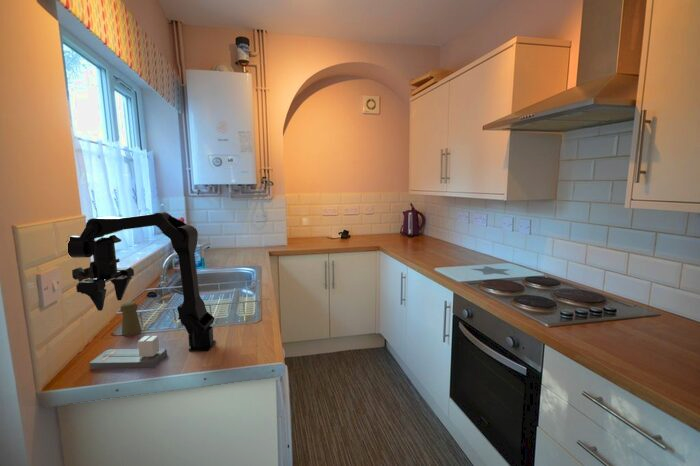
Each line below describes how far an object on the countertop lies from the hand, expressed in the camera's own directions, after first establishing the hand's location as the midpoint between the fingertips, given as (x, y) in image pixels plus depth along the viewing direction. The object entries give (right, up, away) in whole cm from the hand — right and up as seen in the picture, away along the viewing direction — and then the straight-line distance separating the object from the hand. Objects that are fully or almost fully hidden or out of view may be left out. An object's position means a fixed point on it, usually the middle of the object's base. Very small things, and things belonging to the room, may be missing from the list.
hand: (110, 305), depth 111 cm
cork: (-2, -13, +14) cm, 19 cm away
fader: (+16, -13, -7) cm, 22 cm away
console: (+10, -16, -6) cm, 20 cm away
